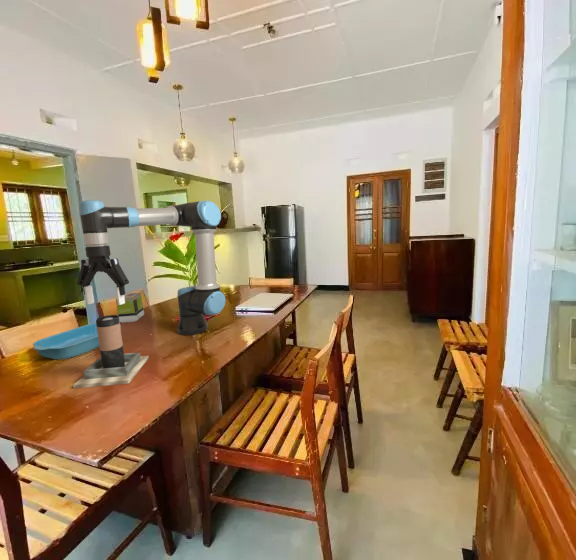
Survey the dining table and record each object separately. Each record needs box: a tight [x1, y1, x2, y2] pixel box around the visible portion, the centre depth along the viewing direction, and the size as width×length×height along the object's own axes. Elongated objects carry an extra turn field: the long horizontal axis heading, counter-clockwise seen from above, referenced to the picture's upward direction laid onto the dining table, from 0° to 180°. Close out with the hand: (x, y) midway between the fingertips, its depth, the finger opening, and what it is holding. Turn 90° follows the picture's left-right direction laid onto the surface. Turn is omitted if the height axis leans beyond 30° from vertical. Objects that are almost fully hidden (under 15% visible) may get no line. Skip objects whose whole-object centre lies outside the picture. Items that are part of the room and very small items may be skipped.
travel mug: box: [95, 314, 125, 369], centre depth 120 cm, size 8×8×20 cm
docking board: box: [73, 352, 149, 389], centre depth 122 cm, size 18×22×4 cm
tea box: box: [115, 291, 145, 323], centre depth 195 cm, size 15×10×15 cm, turn 6°
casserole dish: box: [32, 322, 122, 361], centre depth 150 cm, size 37×22×7 cm, turn 157°
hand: (105, 303), depth 118 cm, fingers open, 13 cm apart
